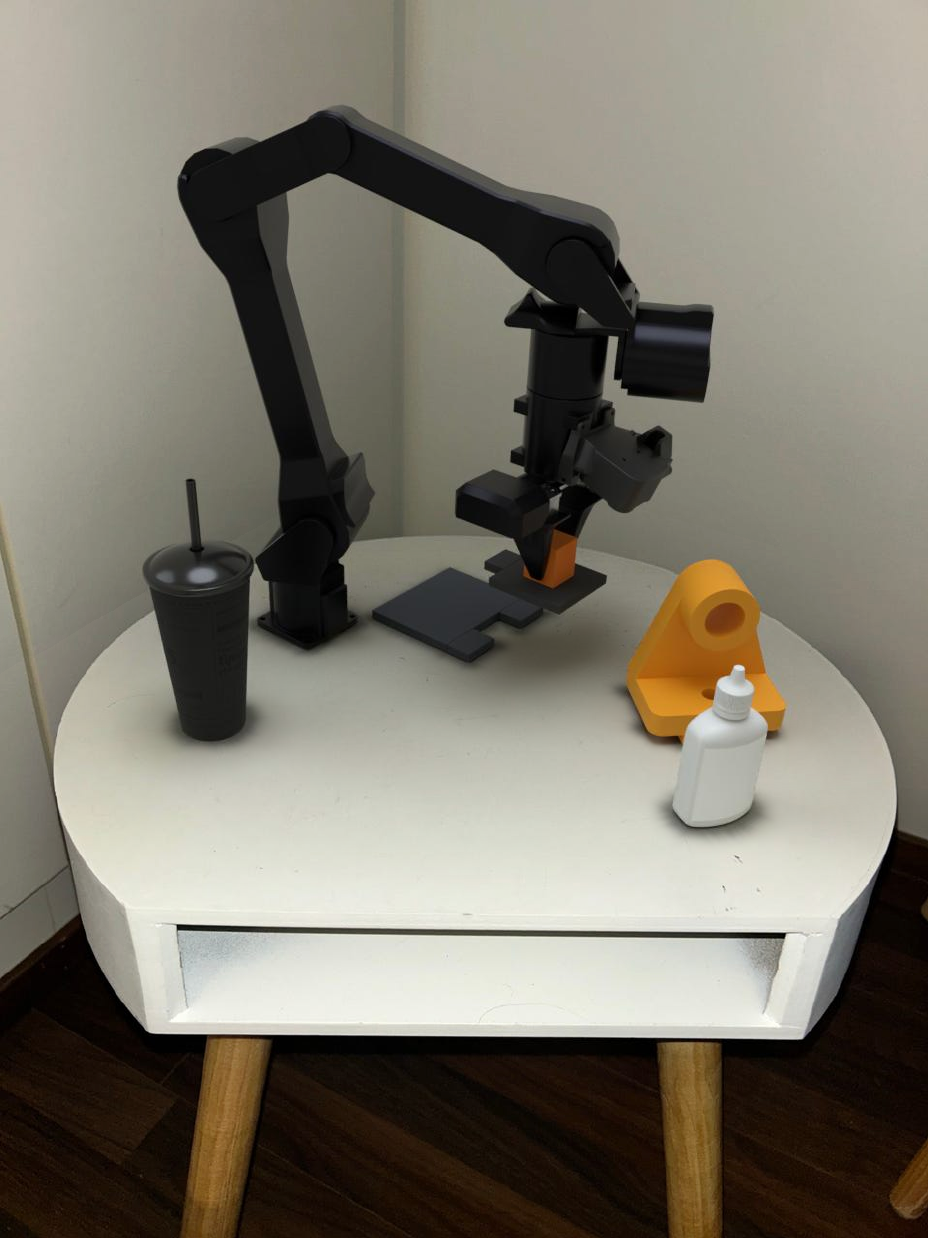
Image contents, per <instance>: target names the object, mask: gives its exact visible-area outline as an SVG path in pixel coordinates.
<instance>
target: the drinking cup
mask: <svg viewBox="0 0 928 1238" xmlns="http://www.w3.org/2000/svg"><path fill="white" fill-rule="evenodd" d="M184 484H185V492H186V503H187V514H188V522H189V532H190V533H189V534H190V540H185V541H181V542H177V543H176V542H175V543H172V544H169V545H166V546H164V547H161V548H159V549H158V550H156V551H154V552H153V553H151V554H150V555H149V556H147V558H146V559H145V561H144V562H143V564H142V566H141V572H142V578H143V580H144V582H145V583H146V584H147V586H148V587H149V591H150V596H151V600H152V601H151V602H152V605H153V609H154V615H155V618H156V622H157V625H158V627H157V628H158V631H159V635H160V639H161V644H162V648H163V651H164V652H163V653H164V657H165V662H166V666H167V670H168V674H169V679H170V683H171V687H172V692H173V695H174V700H175V704H176V708H177V709H176V710H177V713H178V717H179V722H180V726H181V729H182V731H183V732H184V734H186V735H187V736H189V737H190V738H192V739H195V740H200V741H207V742H209V741H212V742H213V741H220V740H225V739H227V738H230V737H232V736H234V735H236V734H237V733H239V732H240V731H241V730H242V729H243V728H244V726H245V724H246V720H247V693H248V691H247V689H248V661H249V660H248V657H249V656H248V655H249V626H250V624H249V623H250V597H251V595H250V593H251V590H250V589H251V577H252V575H253V573H254V570H255V560H254V558H253V556H252V554H251V553H250V552H249V551H248V550H247V549H245V548H244V547H242V546H240V545H239V544H235V543H232V542H229V541H225V540H217V539H202V536H201V535H202V534H201V524H200V523H201V522H200V513H199V504H198V503H199V502H198V493H197V483H196V478H191V477H189V478H187V479H185V480H184Z"/></svg>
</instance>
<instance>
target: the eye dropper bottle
mask: <svg viewBox="0 0 928 1238" xmlns="http://www.w3.org/2000/svg"><path fill="white" fill-rule="evenodd" d="M753 694H754V686H753V685H752V683H751V682H749V681H748V680H746V679H745V668H744V667H743V666H741V665H735V666H734V668H733V670H732V672H731V674H730V676H725V677H722V678H720V679H719V680H718V682H717V686H716V691H715V696H714V702H713V707H711V708H709V709H707V710H705V711H704V712H702V713H701V714H699V715H698V716H697V717H696V718H694V719H693V720H692V721H691V722H690V723H689V725H688V727H687V730H686V733H685V738H684V743H683V744H682V749H681V755H680V759H679V765H678V771H677V777H676V782H675V787H674V794H673V800H672V809H673V811H674V812H675V814H676V815H678V817H679V819H681V820H682V822H683V823H684V824H686V825H687V826H689V827H695V828H708V827H717V826H722V825H725V824H729V823H731V822H734V821H736V820H738V819H740V818H741V817H743V816H744V815H745V814H747V813H748V812H749V811H750V809H751V807H752V804H753V801H754V796H755V792H756V787H757V782H758V778H759V773H760V769H761V764H762V760H763V755H764V750H765V746H766V740H767V734H768V732H769V731H768V725H767V722H766V720H765V719H764V718H763V717H762V716H761V715H760V714H759V713H758V712H757V711H756V710H754V709H753V708H751V704H752V699H753Z"/></svg>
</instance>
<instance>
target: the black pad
mask: <svg viewBox="0 0 928 1238" xmlns="http://www.w3.org/2000/svg"><path fill="white" fill-rule="evenodd" d="M577 539H579V538H577V537H574V536H571V535H569V534H566V533H563V532H561V531H558V530H555V529H554V534H553V539H552V544H551V549H550V554H549V559H548V564H547V568H546V571H545V575H544V578H543V579H542V580H541V581H538V580H536V579H533V578H531V577H530V575H529V573H528V571H527V568H526V566H525V564H524V562H523V559H522V557H521V555H520V553H517V552H514V551H512V550H509V549H505V548H504V549H503V550H502V551H500V552H498V553H496V554H494V555H493V556H491V557H489V558H487V559H485V560H484V562H483V563H484V564H483V569H484V571H487V572H490V573H492V575H491V576H489V578H488V583H489V586H491V587H493V588H496V589H498V590H500V591H503V592H505V593H508V594H510V595H512V596H515V597H517V598H520V599H522V600H524V601H527V602H529V603H531V604H534V605H536V606H539V607H541V608H543V610H546V611H548V612H551V613H553V614H556V615H558V616H559V615H561V614H563V613H564V612H566V611H567V610H568V609H570V608H571V607H574V605H576V604H578V603H579V602H580V601H582V600H583V599H585V598H586V597H588V596H589V595H591V594H593V593H594V592H595V591H597V590H599V589H600V588H602V587H603V586H604V585H606V584H607V581H608V579H607V578H608V575H607V574H605V573H603V572H600V571H597V570H595V569H592V568H589V567H587V566H584V565H581V564H579V563H576V559H577V557H576V556H577V547H578V540H577Z"/></svg>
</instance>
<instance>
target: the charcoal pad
mask: <svg viewBox="0 0 928 1238" xmlns="http://www.w3.org/2000/svg"><path fill="white" fill-rule="evenodd" d="M543 614H544V609H543V608H541V607H539V606H536V605H534V604H531V603H529V602H527V601H524V600H522V599H520V598H517V597H515V596H512V595H510V594H508V593H505V592H503V591H500V590H498V589H496V588H493V587H491V586H489V582H487V581H485V580H482V579H479V578H477V577H475V576H473V575H471V574H468V573H465V572H463V571H460V570H458V569H455V568H453V567H451V566H449V567H447V568H446V569H444V570H442V571H441V572H439V573H437V574H435V575H433V576H431V577H430V578H428V579H426V580H424V581H422V582H421V583H419V584H417V585H415V586H412V588H410V589H408V590H406V591H404V592H402V593H401V594H399V595H397V596H395V597H393V598H392V599H390V600H388V601H385V602H384V603H383V604H381V605H379V606H377V607H376V608H373V609H372V610H371V618H372V619H374V620H376V621H378V622H381V623H383V624H385V625H387V626H390V627H392V628H393V629H395V630H397V631H400V632H401V633H404V634H406V635H408V636H410V637H412V638H415V639H416V640H420V641H422V642H423V643H426V644H428V645H430V646H432V647H434V648H437V650H441V651H442V652H444V653H448V654H449V655H452V656H454V657H455V658H458V659H460V660H463V661H465V662H467V663H470V662H472V661H473V660H474V659H477V658H478V657H480V656H481V655H482V654H483V653H486V652H487V651H488V650H490V649H491V648H493V647H494V646H495V637H492V636H491V635H488V634H486V633H484V632H481V631H482V630H484V629H486V628H487V627H488V626H490V625H491V624H493V623H495V622H496V621H498V620H500V621H502V622H505V623H507V624H509V625H512V626H514V627H516V628H518V629H521V628H523V627H524V626H526V625H527V624H529V623H530V622H532V621H534V620H536V618H538V617H540V616H541V615H543Z"/></svg>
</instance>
